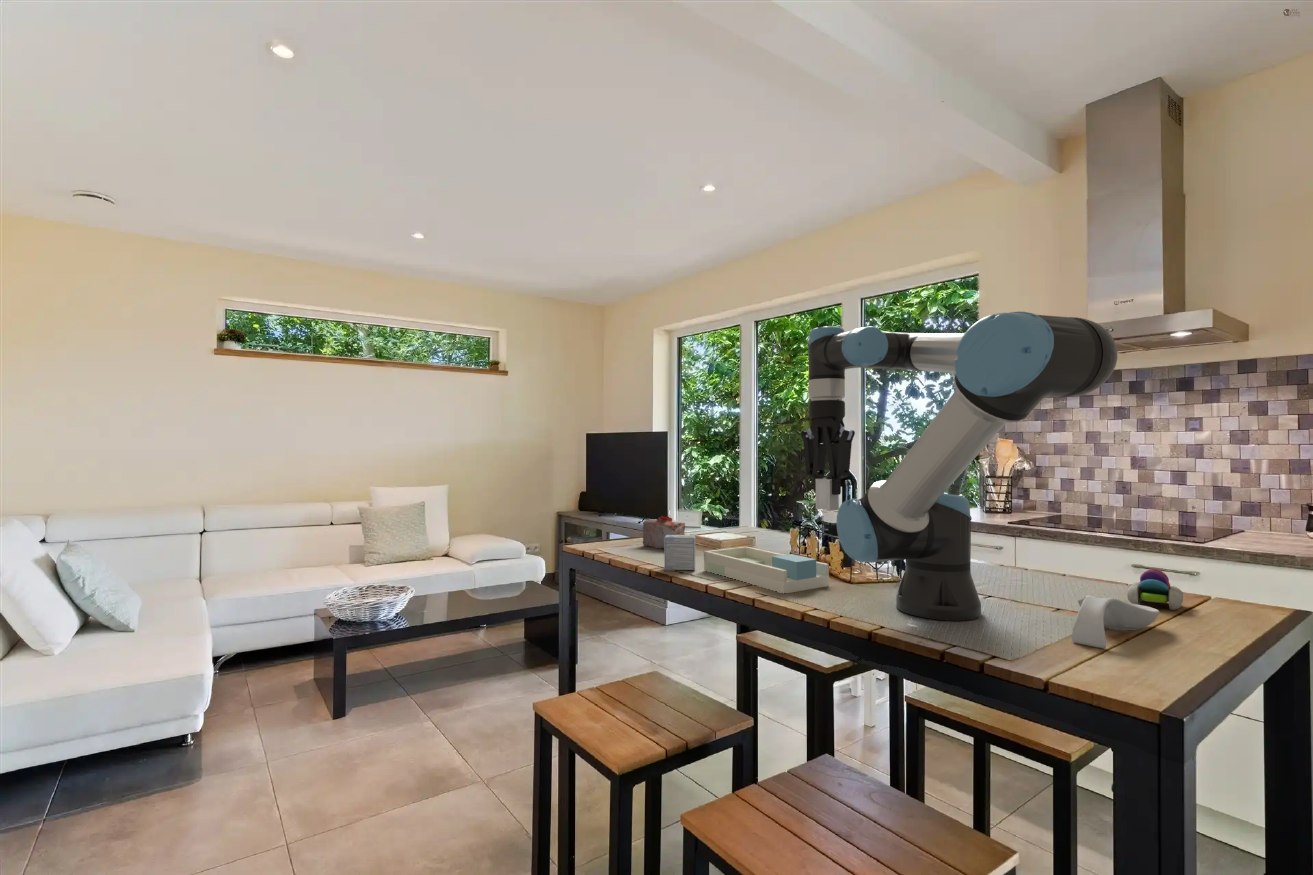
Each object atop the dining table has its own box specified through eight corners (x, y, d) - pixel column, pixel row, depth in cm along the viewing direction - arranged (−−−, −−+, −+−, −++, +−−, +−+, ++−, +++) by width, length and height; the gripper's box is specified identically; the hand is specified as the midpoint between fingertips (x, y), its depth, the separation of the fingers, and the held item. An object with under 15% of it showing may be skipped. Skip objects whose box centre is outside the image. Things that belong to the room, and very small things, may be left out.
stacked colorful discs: (1184, 605, 128) (1183, 569, 128) (1180, 614, 121) (1180, 576, 121) (1131, 597, 133) (1131, 563, 133) (1125, 606, 126) (1125, 570, 126)
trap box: (828, 586, 144) (828, 564, 144) (783, 594, 136) (783, 570, 136) (746, 565, 168) (746, 546, 168) (704, 570, 161) (703, 551, 161)
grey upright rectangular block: (695, 568, 165) (695, 534, 165) (694, 571, 160) (694, 537, 161) (665, 567, 166) (665, 534, 166) (664, 570, 161) (664, 537, 161)
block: (816, 577, 142) (816, 559, 142) (797, 580, 139) (796, 562, 139) (791, 570, 149) (791, 554, 149) (772, 573, 145) (772, 556, 145)
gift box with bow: (689, 548, 196) (689, 516, 196) (673, 551, 190) (673, 518, 190) (654, 543, 205) (654, 513, 205) (639, 546, 198) (639, 515, 199)
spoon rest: (1088, 613, 121) (1087, 576, 121) (1165, 627, 113) (1165, 587, 113) (1048, 640, 105) (1048, 597, 106) (1135, 657, 97) (1135, 611, 97)
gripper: (868, 398, 131) (868, 511, 131) (812, 402, 144) (812, 505, 144) (843, 397, 127) (843, 514, 127) (788, 401, 140) (788, 507, 140)
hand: (827, 509), depth 135 cm, fingers open, 3 cm apart
